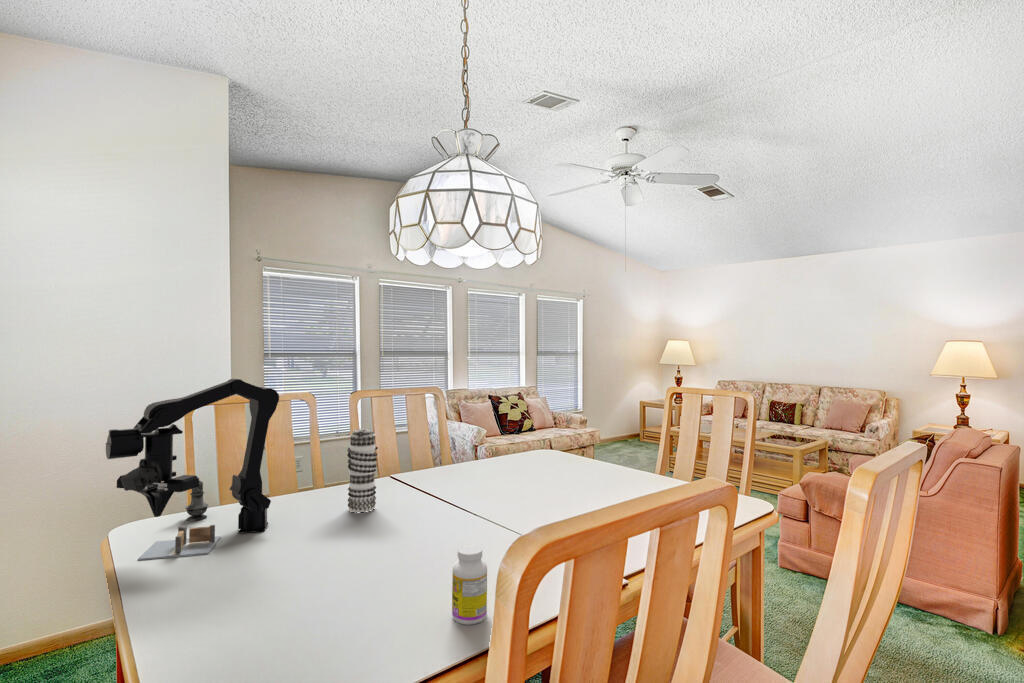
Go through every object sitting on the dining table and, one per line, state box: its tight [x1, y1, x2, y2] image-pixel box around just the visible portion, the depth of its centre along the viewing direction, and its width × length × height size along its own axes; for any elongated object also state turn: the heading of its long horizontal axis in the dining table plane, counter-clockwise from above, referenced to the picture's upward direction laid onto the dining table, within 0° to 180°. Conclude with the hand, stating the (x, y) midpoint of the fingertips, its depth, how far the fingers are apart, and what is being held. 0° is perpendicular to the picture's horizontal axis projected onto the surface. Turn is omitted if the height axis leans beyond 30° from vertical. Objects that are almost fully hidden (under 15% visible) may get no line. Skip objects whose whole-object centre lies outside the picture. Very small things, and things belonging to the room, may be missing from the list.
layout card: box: [137, 535, 222, 561], centre depth 130 cm, size 15×11×1 cm
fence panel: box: [174, 531, 184, 553], centre depth 128 cm, size 6×1×4 cm, turn 25°
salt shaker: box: [185, 480, 209, 522], centre depth 153 cm, size 6×6×12 cm
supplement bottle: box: [451, 544, 488, 626], centre depth 99 cm, size 7×7×13 cm
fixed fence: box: [177, 524, 216, 545], centre depth 133 cm, size 8×2×5 cm, turn 106°
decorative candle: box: [347, 428, 379, 513], centre depth 163 cm, size 9×9×25 cm
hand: (157, 516), depth 128 cm, fingers closed
